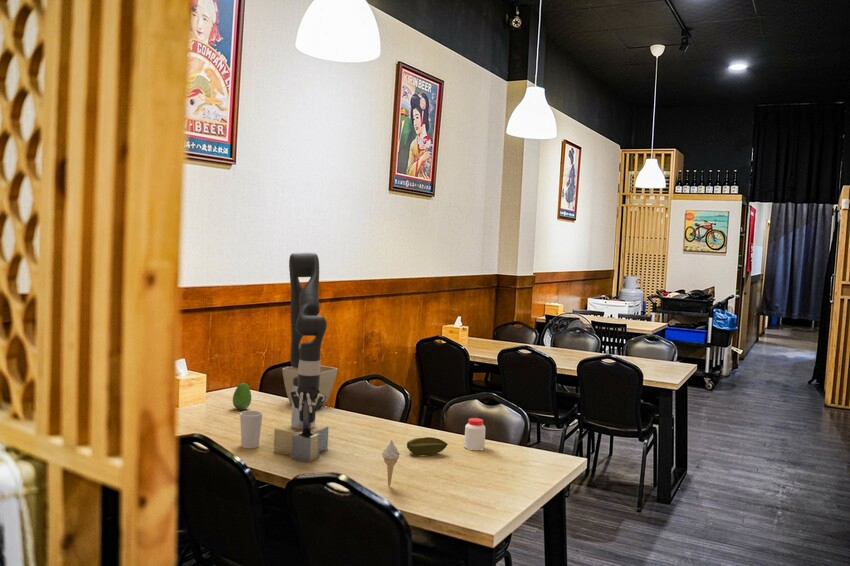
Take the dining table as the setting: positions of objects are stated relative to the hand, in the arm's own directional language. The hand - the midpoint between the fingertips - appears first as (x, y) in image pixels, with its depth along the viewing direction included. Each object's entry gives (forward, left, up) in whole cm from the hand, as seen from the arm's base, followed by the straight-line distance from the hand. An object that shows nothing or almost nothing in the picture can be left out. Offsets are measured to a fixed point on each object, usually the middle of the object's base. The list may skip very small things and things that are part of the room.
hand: (306, 421), depth 244 cm
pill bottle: (-47, +45, -13) cm, 66 cm away
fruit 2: (-29, +33, -13) cm, 46 cm away
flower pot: (-69, -46, -13) cm, 84 cm away
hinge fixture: (-5, -5, -13) cm, 15 cm away
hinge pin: (0, 0, -4) cm, 4 cm away
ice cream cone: (+9, +38, -13) cm, 41 cm away
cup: (-1, -25, -13) cm, 28 cm away
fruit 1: (-42, -63, -13) cm, 77 cm away
